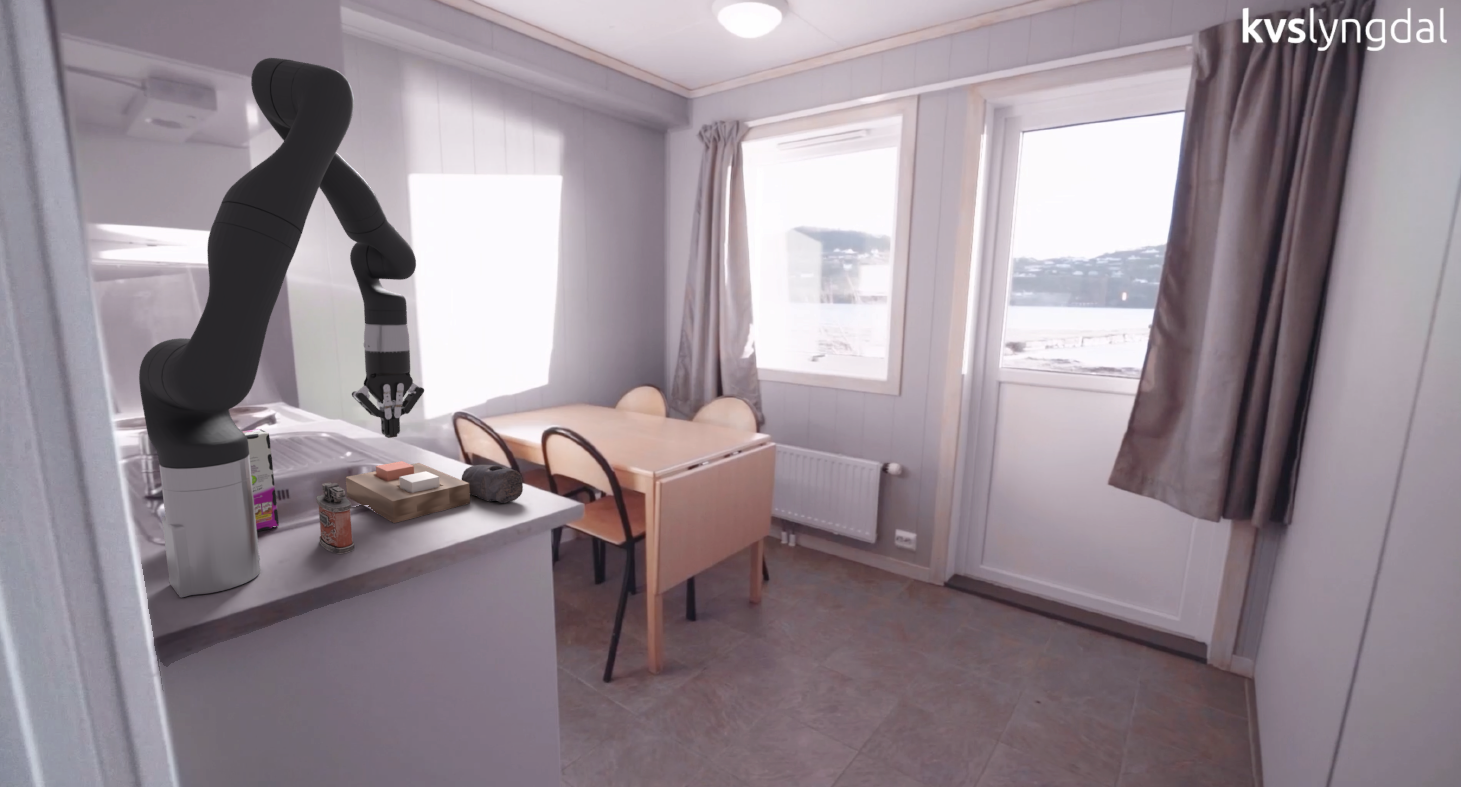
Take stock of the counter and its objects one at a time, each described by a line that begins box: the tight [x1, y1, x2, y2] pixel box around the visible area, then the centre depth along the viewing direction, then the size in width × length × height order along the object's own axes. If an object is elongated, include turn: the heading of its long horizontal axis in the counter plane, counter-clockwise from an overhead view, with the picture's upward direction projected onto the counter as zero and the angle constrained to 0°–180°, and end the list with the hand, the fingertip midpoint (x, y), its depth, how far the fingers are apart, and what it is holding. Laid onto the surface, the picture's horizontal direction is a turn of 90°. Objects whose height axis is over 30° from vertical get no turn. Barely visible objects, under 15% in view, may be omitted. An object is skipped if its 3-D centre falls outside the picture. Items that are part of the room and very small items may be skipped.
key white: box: [399, 471, 440, 493], centre depth 115 cm, size 5×5×4 cm
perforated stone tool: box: [461, 464, 524, 504], centre depth 120 cm, size 15×5×7 cm, turn 60°
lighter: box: [315, 482, 355, 555], centre depth 96 cm, size 8×3×10 cm, turn 53°
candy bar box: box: [241, 428, 280, 533], centre depth 99 cm, size 11×5×16 cm, turn 143°
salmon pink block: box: [375, 460, 414, 481], centre depth 121 cm, size 5×5×4 cm
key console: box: [345, 462, 471, 524], centre depth 118 cm, size 14×20×4 cm
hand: (391, 436), depth 119 cm, fingers closed
